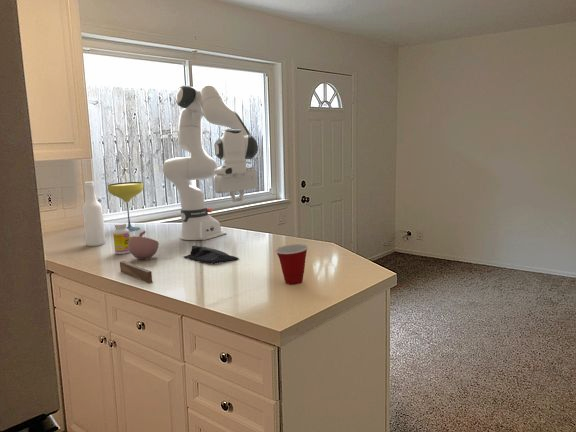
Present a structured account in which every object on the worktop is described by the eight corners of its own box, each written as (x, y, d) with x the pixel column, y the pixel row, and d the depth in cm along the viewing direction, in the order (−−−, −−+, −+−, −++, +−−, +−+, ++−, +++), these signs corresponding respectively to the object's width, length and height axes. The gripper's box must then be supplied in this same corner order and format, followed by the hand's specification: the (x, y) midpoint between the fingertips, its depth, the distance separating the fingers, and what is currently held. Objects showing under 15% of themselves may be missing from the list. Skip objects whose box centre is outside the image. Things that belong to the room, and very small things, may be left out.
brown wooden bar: (124, 271, 186) (123, 260, 186) (152, 282, 170) (151, 271, 170) (120, 272, 185) (119, 261, 185) (148, 283, 169) (147, 272, 169)
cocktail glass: (106, 230, 269) (101, 184, 264) (137, 225, 281) (133, 181, 276) (121, 234, 256) (116, 186, 251) (153, 228, 268) (148, 182, 263)
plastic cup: (275, 278, 168) (274, 244, 166) (307, 276, 169) (305, 242, 167) (277, 288, 158) (276, 252, 156) (311, 286, 159) (310, 250, 157)
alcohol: (90, 247, 229) (82, 183, 223) (83, 244, 235) (76, 182, 230) (109, 244, 234) (102, 181, 229) (102, 241, 241) (95, 180, 236)
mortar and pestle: (165, 255, 207) (163, 228, 205) (148, 263, 196) (145, 235, 194) (141, 254, 211) (138, 228, 209) (123, 261, 200) (120, 234, 198)
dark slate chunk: (208, 268, 186) (207, 256, 185) (181, 258, 203) (180, 247, 202) (242, 260, 196) (241, 248, 195) (213, 251, 213) (213, 240, 212)
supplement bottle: (126, 254, 212) (123, 225, 210) (112, 254, 213) (109, 225, 211) (134, 250, 219) (131, 222, 216) (120, 250, 220) (117, 222, 218)
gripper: (250, 166, 213) (252, 197, 215) (210, 170, 199) (213, 204, 202) (259, 166, 208) (261, 199, 211) (220, 171, 195) (222, 205, 197)
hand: (237, 201), depth 206 cm, fingers closed
